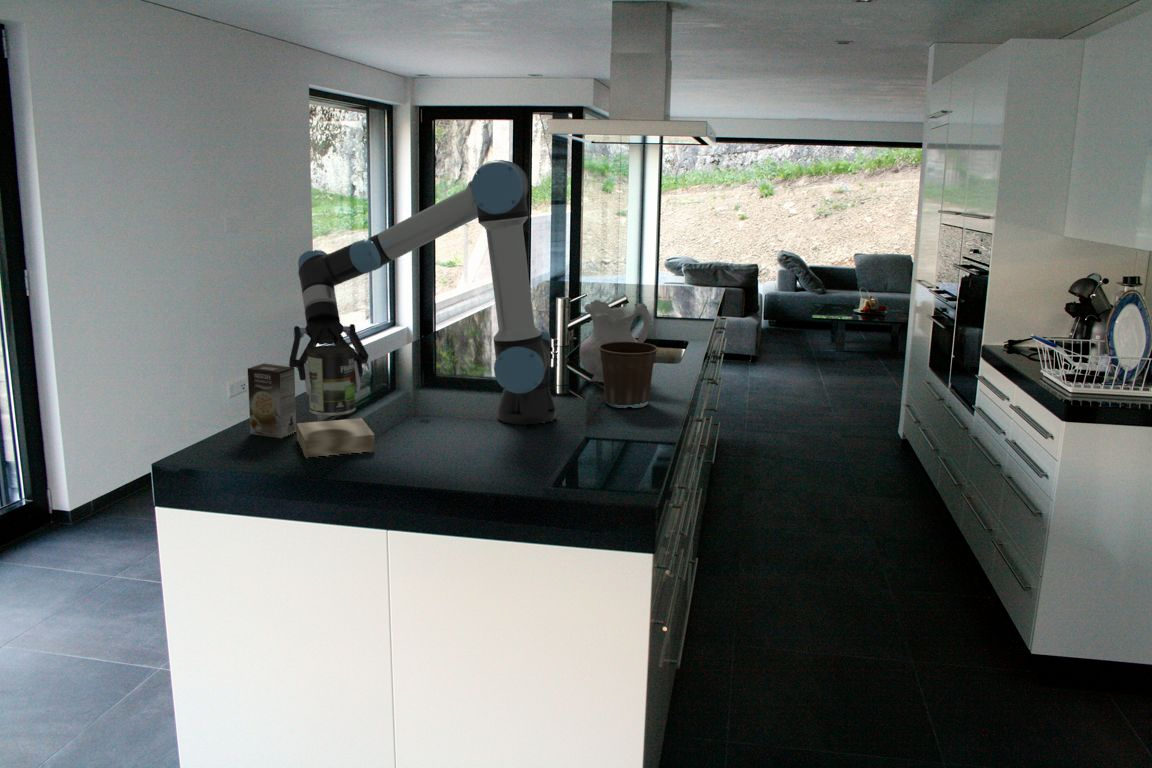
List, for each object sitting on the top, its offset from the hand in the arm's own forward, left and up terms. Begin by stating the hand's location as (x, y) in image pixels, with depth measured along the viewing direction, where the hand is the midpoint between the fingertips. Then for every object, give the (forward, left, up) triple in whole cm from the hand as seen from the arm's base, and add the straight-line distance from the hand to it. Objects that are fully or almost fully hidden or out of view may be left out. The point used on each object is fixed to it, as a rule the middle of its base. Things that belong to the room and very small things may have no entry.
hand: (333, 389), depth 210 cm
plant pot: (-81, -18, -14) cm, 84 cm away
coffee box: (+12, -18, -14) cm, 26 cm away
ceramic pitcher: (-90, -45, -14) cm, 102 cm away
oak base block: (0, -3, -14) cm, 14 cm away
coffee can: (0, -3, -6) cm, 6 cm away
